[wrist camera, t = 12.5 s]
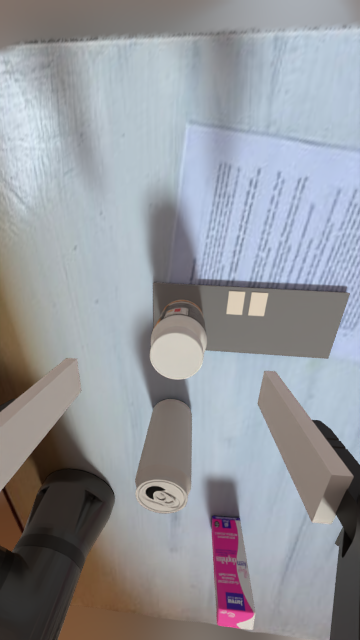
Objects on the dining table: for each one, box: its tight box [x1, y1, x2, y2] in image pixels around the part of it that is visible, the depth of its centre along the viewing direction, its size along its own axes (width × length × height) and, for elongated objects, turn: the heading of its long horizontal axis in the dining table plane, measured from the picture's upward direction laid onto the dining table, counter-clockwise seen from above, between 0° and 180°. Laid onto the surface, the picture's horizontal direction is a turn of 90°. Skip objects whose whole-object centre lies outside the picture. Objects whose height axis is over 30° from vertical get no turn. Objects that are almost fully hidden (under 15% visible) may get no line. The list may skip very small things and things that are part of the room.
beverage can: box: [135, 399, 192, 513], centre depth 26 cm, size 6×6×12 cm
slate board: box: [153, 282, 350, 359], centre depth 26 cm, size 24×9×1 cm, turn 88°
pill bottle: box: [150, 300, 207, 380], centre depth 21 cm, size 6×6×10 cm
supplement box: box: [212, 516, 255, 630], centre depth 35 cm, size 6×6×12 cm
